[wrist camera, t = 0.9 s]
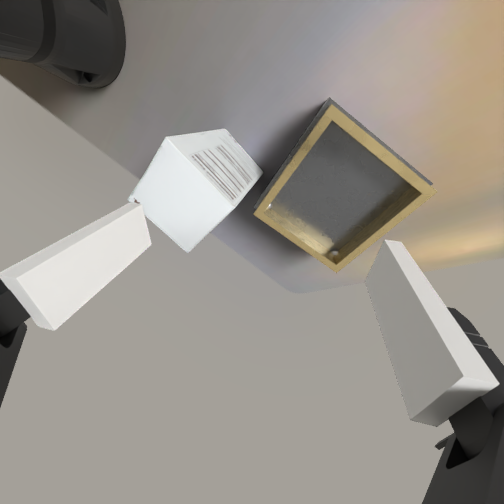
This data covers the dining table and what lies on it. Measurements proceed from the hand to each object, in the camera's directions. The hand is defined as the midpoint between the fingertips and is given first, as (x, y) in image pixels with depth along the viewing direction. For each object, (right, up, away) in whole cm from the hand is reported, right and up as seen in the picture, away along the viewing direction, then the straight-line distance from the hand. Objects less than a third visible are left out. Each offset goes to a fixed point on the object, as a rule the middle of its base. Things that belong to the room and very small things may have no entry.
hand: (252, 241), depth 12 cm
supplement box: (-4, +13, +25) cm, 29 cm away
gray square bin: (+12, +10, +22) cm, 27 cm away
